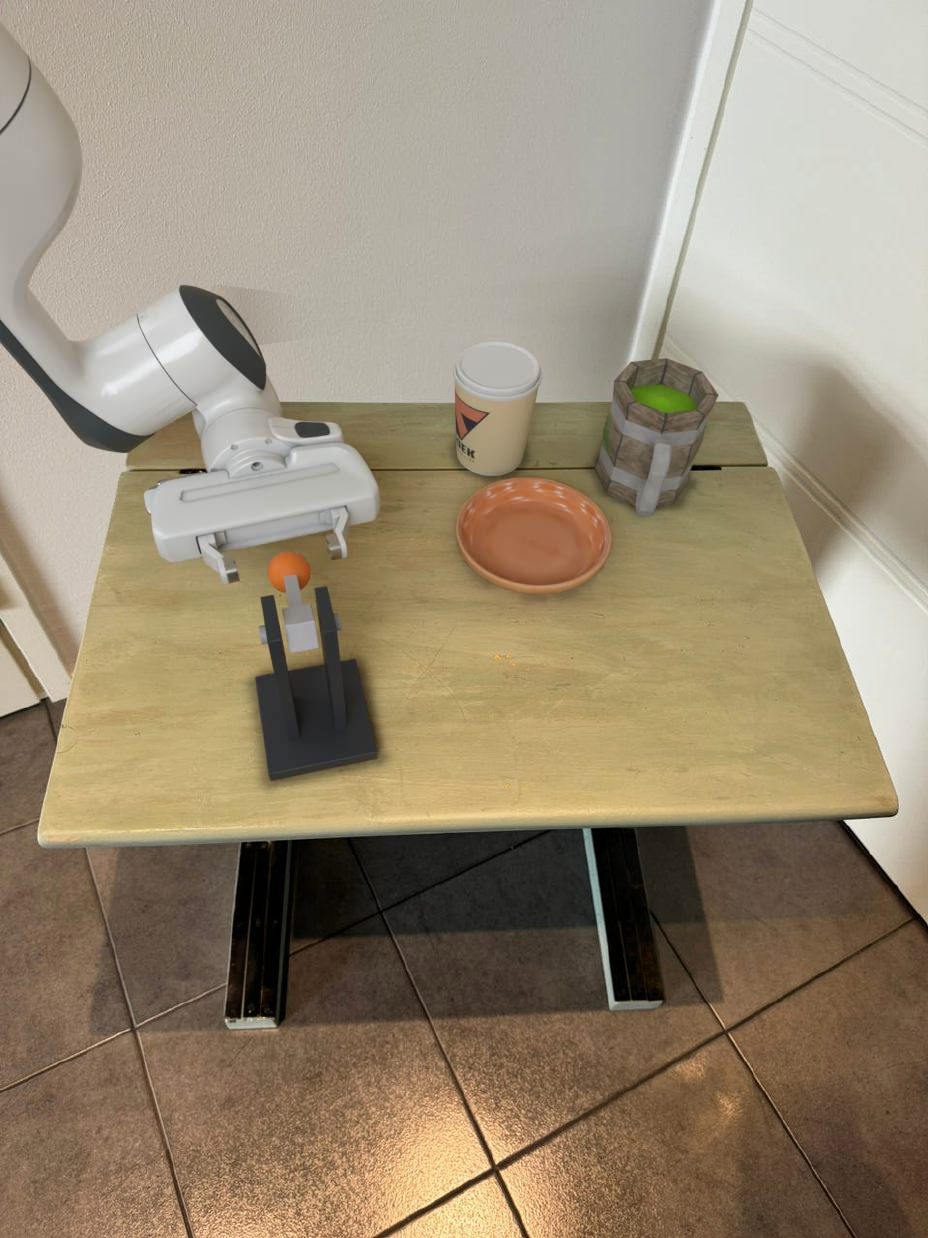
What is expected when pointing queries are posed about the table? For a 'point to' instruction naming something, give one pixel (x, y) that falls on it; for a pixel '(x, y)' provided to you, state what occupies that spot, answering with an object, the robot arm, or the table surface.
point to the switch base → (311, 702)
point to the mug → (653, 432)
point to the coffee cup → (494, 405)
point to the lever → (294, 599)
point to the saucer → (533, 535)
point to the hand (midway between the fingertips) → (285, 566)
